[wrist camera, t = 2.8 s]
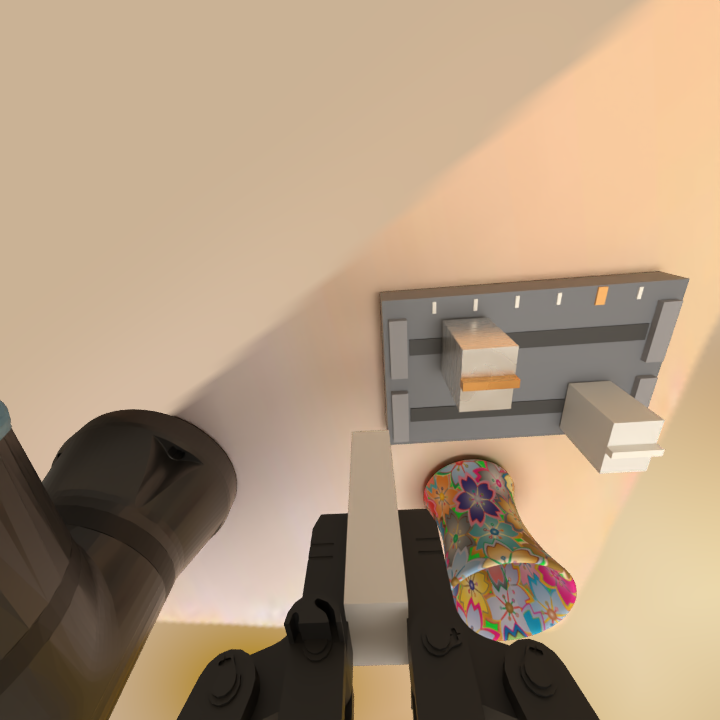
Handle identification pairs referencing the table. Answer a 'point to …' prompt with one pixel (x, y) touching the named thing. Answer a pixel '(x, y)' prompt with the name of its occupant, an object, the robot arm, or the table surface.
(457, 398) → the fader
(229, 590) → the table surface
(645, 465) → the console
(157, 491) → the robot arm
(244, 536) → the table surface
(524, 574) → the mug
